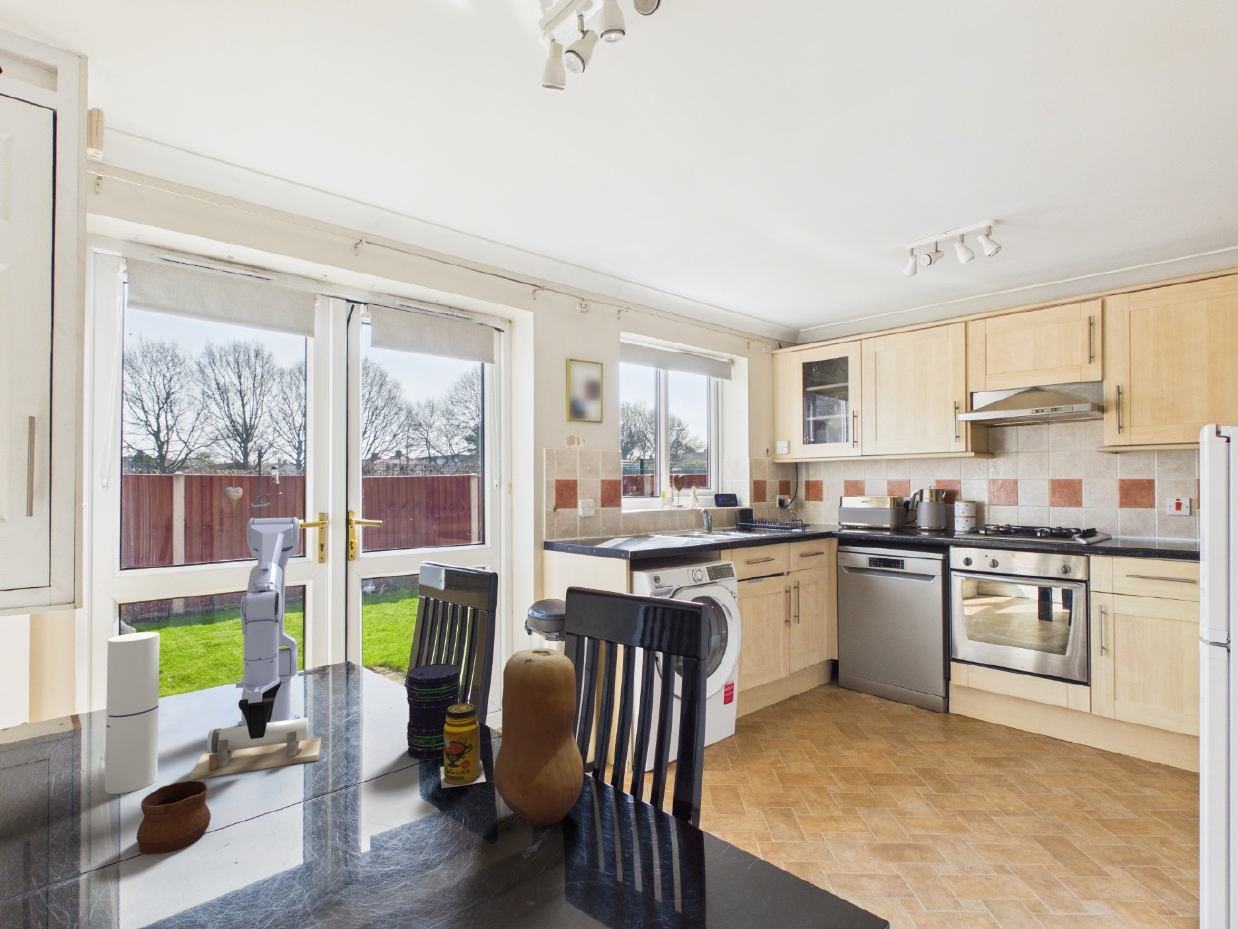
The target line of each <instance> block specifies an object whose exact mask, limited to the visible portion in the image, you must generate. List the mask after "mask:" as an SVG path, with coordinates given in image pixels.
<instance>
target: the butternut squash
mask: <svg viewBox="0 0 1238 929" xmlns="http://www.w3.org/2000/svg"><path fill="white" fill-rule="evenodd" d="M502 673H503V674H502V685H503V686H502V687H503V688H502V698H501V741H500V747H499V751H498V753H497V756H496V759H495V761H494V769H493V771H492V772H493V773H492V774H493V776H492V777H493V786H494V787H495V789H496V791H497V793H498V794H499V796H500V798H501V799H502V800H503V802H504V803H505V805H506V807H507V808H508V809H509V810H510V811H511V812H512V813H514V814H515V815H516V816H517V817H518V818H521V819H522V820H523V821H524V822H525V823H527V824H529V825H530V826H534V827H537V828H539V827H541V828H543V827H545V826H547V825H548V826H549V825H553V824H555V823H557V822H559V821H561V820H563V819H564V818H565V816H567V814H568V813H569V812H570V810H571V809H572V808H573V806H574V805H575V804H576V802H577V800H578V799H579V797H580V795H581V793H582V788H583V784H584V764H583V758H582V755H581V752H580V749H579V746H578V744H577V742H576V738H575V735H574V732H573V727H574V726H573V725H574V720H575V715H576V711H577V683H576V682H577V680H576V670H575V665H574V663H573V662H572V660H571V659H570V658H569V657H568V656H567V655H565V654H563V653H562V652H560V651H558V649H557V650H556V649H554V648H549V647H548V648H547V647H542V648H541V647H538V648H537V647H536V648H531V649H522V650H518V651H516V652H514V653H513V654H512V655H511V656H510V657H509V658H508V660H507V662H506V663H505V666H504V668H503V672H502ZM542 826H543V827H542Z"/></svg>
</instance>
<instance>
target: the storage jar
mask: <svg viewBox="0 0 1238 929" xmlns="http://www.w3.org/2000/svg"><path fill="white" fill-rule="evenodd" d="M460 671H461V668H460V667H459V665H456V664H452V663H451V664H450V663H432V664H424V665H419V666H416V667H414V668H411V669H410V670H409V671H408V672H407V678H408V680H407V685H406V687H407V689H406V692H407V697H406V700H407V704H408V706H409V707H408V722H407V727H406V729H407V732H406V740H407V746H408V747H407V754H408V756H409V757H410V758H412V759H415V760H422V761H431V760H438V759H444V726H445V724H446V723H447V722H446V710H447V709H448V708H449V707H450V706H453V705H456V704H459V700H460V697H461V681H460V680H461V678H460Z"/></svg>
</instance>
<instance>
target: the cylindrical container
mask: <svg viewBox="0 0 1238 929" xmlns="http://www.w3.org/2000/svg"><path fill="white" fill-rule="evenodd" d="M160 635H161V634H160V633H159V632H157V631H155V632H154V631H142V632H133V633H126V634H120V635H117V636H115V635H114V636H113V637H110V638H108V639H107V661H106V662H107V663H106V666H107V667H106V668H107V669H106V672H107V673H106V707H105V708H106V711H105V712H106V713H105V714H106V715H105V716H106V717H105V720H106V721H105V722H106V723H105V724H106V725H105V768H104V770H105V774H104V791H105V792H106V793H107V794H112V795H113V794H115V795H116V794H125V793H130V792H134V791H139V790H141V789H144V788H147V787H148V786H150V785H152V784H154V783H156V782H157V780H158V776H159V775H158V768H159V767H158V764H159V761H158V760H159V756H158V755H159V712H160V711H159V708H160V707H159V703H160V702H159V700H160V699H159V698H160V696H159V695H160V686H159V685H160V648H161V647H160V645H161V644H160V640H161V639H160V638H161V637H160Z"/></svg>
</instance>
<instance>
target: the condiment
mask: <svg viewBox="0 0 1238 929" xmlns="http://www.w3.org/2000/svg"><path fill="white" fill-rule="evenodd" d="M477 712H478V707H477V706H476V705H475V704H473V703H465V702H464V703H458V704H456V705H453V706H450V707H449V708H448V709H447V710H446V722H447V723H446V724H445V726H444V757H443V766H440V768H439V769H440V785H441V789H446V788H454V787H462V786H463V787H464V786H468V785H474V784H480V783H485V782H487V780H486V779H487V778H486V775H485V770H484V766H483V762H482V760H481V758H480V757H481V756H480V755H481V754H480V753H481V752H480V750H481V749H480V748H481V747H480V745H481V744H480V729H481V728H480V722H479V720H478V713H477Z"/></svg>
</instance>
